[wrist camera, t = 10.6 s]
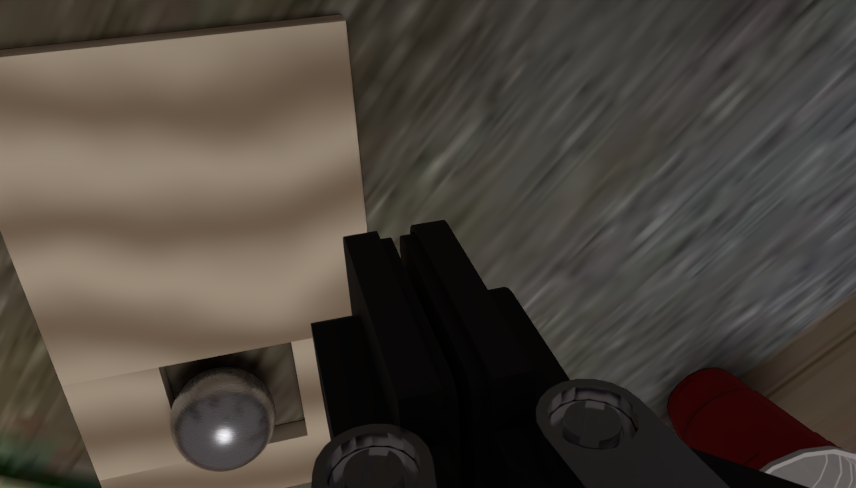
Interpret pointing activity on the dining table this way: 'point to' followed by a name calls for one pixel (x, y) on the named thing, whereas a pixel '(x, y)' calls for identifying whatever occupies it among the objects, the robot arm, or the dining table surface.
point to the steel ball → (222, 419)
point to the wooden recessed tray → (181, 224)
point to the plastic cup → (755, 432)
